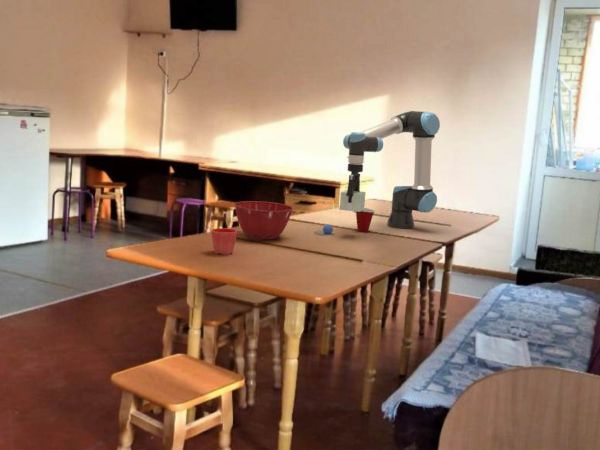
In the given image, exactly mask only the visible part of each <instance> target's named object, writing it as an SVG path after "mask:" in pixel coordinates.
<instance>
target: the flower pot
mask: <svg viewBox="0 0 600 450" xmlns="http://www.w3.org/2000/svg"><path fill="white" fill-rule="evenodd" d="M210 232H211V239H212V245H213V250H214V251H213V252H214V253H215V252H216V253H215V254H217V253H221V254H220V255H231V254H230V253H232V254H233V252H234V249H235V245H236V241H237V240H236V239H237V236H238V230H237V229H233V228H226V227H225V228H224V227H222V228H220V227H218V228H212V229H211V230H210Z"/></svg>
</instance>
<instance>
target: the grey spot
mask: <svg viewBox="0 0 600 450" xmlns="http://www.w3.org/2000/svg"><path fill="white" fill-rule="evenodd" d="M313 232H314V235H319V236H333V235H334V233H333V232H332V233H330V234H325V233H324V231H323V230H320V231H319V230H317V231H313Z"/></svg>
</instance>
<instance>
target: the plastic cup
mask: <svg viewBox="0 0 600 450" xmlns="http://www.w3.org/2000/svg"><path fill="white" fill-rule="evenodd" d="M375 212H376V210H374V209H371V208H368V207H364V210H362V211H360V212H357V211H355V217H356V218H355V219H356V226H357V227H356V228H357V229H356V230H357V231H358V232H361V233H367V232H369V230H370V227H371V224H372V219H373V217H374V214H375Z"/></svg>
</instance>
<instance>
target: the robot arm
mask: <svg viewBox="0 0 600 450" xmlns="http://www.w3.org/2000/svg"><path fill="white" fill-rule="evenodd" d="M440 123H441V122H440V119H439V116H437V114H436V113H434V112H430V111H418V110H417V111H416V110H414V111H413V110H410V111H405V112H403V113H399V114H398V115H394V116H392V117H391V118H390V120H388V121H385V122H383V123H381V124H378V125H375V126H373V127H370V128H368V129H365V130H363V131H360V132H356V131H353V132H350V133H349V134H346V135H345V136H344V137H343V141H342V143H343V147H344V148H345V149H348V156H347V159H348V160H347V161H348V164H347V171H348V172H351V173H350V174H349V175H348V184H347V189H346V190H347V194H346V196H348V200H347V209H353V197H354V196H353V193H354V191H360V189H361V184H360V183H361V182H360V181H361V178H360V177H361V173H362V172H363V170H364V161H365V159H364V158H365V152H366V153H367V152H368V153H379V152H381V151H382V149H383V148H384V141H383V139H384V138H387V137H389V136H392V135H395V134H396V135H399V134H403V133H409V134H410V133H411V134H412V138H413V140H415V142H414V143H415V149H414V179H413V181H414V182H413V185H395V186H394V188H393V192H392V200H391V201H392V202H391V212H390V214H389V217H388V220H387V223H386V225H387V227H390V228H395V229H396V228H397V229H414V228H415V220H414V217H413V211H415V212H419V213H431V212H432V211H433V210H434V208H436V207H437V202H438V197H437V194H436V192H435V191H434V187H433V186H432V185H431V172H432V170H431V169H432V168H431V167H432V143H433V142H432V141H433V139H435V136H436V134H437V133H439V130H440V128H441V127H440V125H441V124H440ZM360 192H361V191H360Z"/></svg>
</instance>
